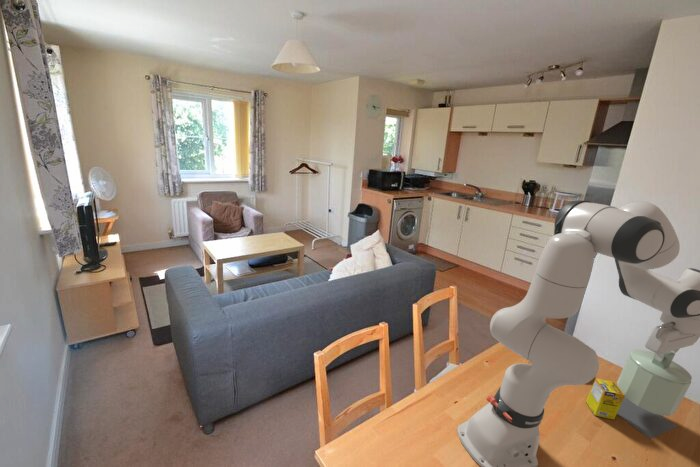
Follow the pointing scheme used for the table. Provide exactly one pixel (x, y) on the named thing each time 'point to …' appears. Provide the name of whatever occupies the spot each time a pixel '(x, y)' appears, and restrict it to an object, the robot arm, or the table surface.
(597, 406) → the supplement box
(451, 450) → the table surface
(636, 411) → the slate mat
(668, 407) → the cloche
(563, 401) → the table surface
